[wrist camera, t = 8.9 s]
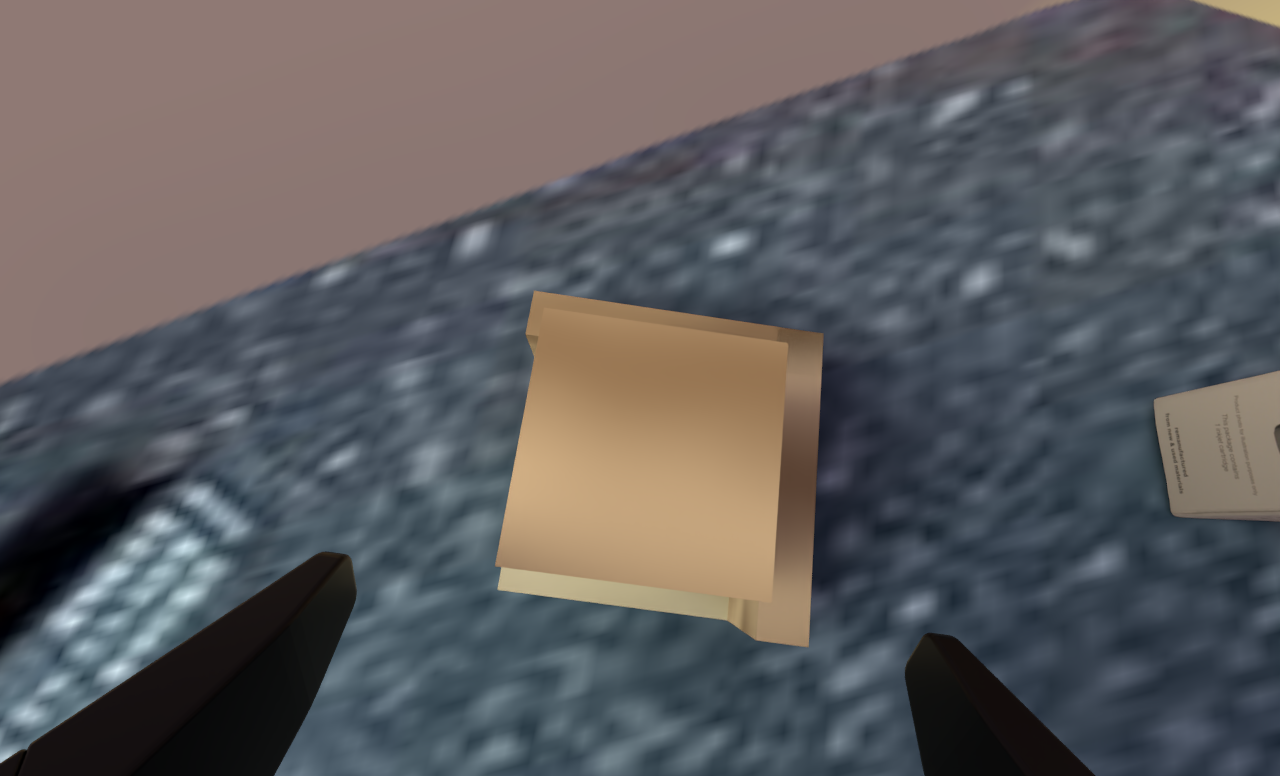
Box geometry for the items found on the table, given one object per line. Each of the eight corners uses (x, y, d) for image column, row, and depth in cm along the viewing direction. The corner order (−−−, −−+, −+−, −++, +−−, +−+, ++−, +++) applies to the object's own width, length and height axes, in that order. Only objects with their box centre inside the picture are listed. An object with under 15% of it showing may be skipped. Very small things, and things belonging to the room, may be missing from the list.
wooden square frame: (768, 624, 20) (808, 647, 16) (498, 589, 19) (472, 602, 15) (784, 369, 22) (823, 333, 18) (546, 334, 22) (534, 290, 18)
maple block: (689, 569, 20) (772, 602, 10) (548, 550, 20) (495, 566, 10) (703, 426, 21) (788, 334, 11) (572, 407, 21) (545, 298, 11)
